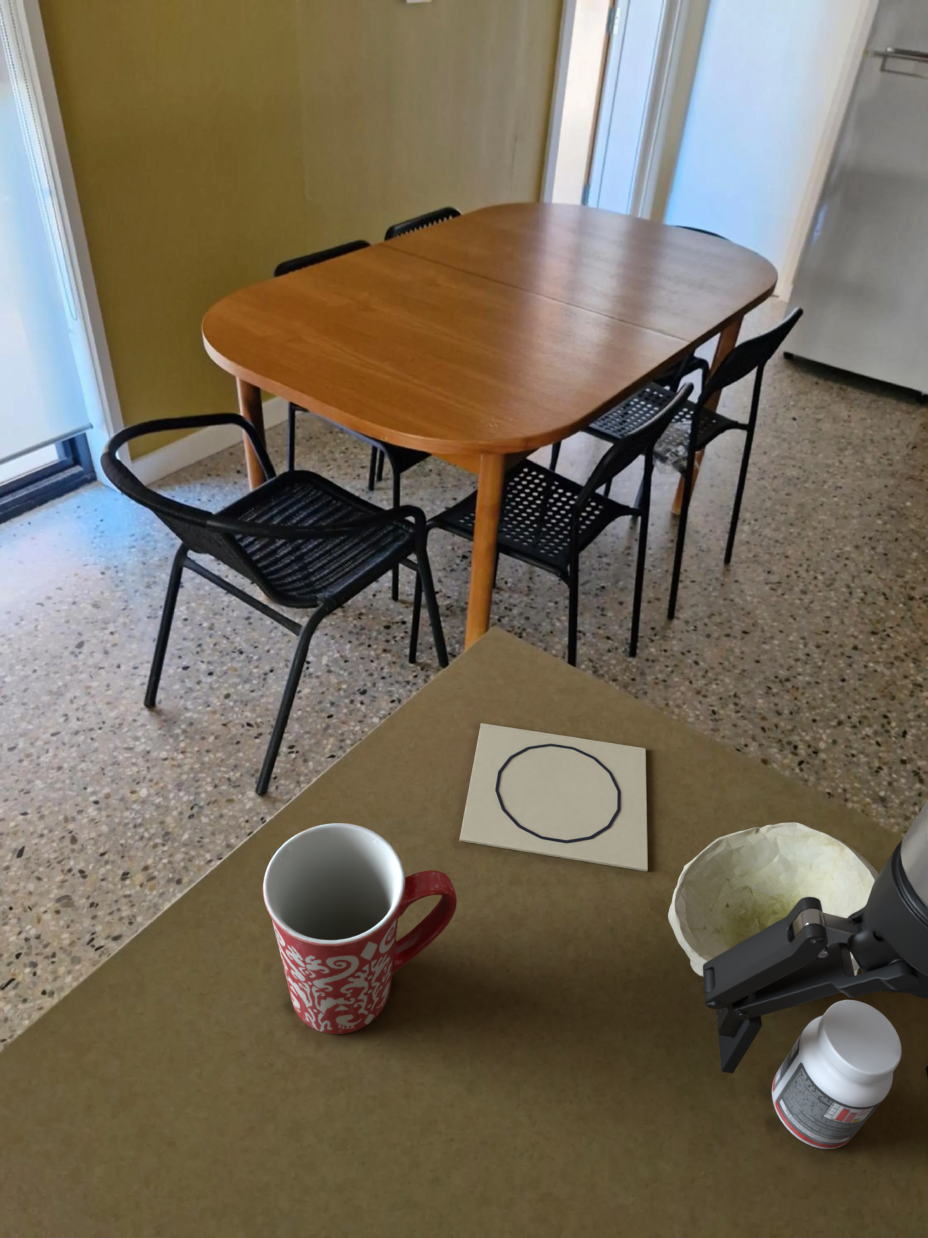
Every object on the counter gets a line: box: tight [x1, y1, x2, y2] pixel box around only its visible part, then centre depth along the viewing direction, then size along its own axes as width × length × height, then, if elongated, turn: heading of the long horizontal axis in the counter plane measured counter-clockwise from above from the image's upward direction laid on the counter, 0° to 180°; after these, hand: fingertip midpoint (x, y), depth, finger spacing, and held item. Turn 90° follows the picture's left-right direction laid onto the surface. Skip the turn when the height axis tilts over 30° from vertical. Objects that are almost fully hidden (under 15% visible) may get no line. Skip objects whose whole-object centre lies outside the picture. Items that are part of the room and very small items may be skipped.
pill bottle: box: [771, 999, 903, 1150], centre depth 58 cm, size 6×6×10 cm
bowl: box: [667, 821, 879, 977], centre depth 66 cm, size 15×14×10 cm
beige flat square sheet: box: [459, 722, 649, 873], centre depth 80 cm, size 14×16×1 cm
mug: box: [262, 822, 458, 1035], centre depth 61 cm, size 13×9×14 cm
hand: (829, 1071), depth 58 cm, fingers open, 13 cm apart
